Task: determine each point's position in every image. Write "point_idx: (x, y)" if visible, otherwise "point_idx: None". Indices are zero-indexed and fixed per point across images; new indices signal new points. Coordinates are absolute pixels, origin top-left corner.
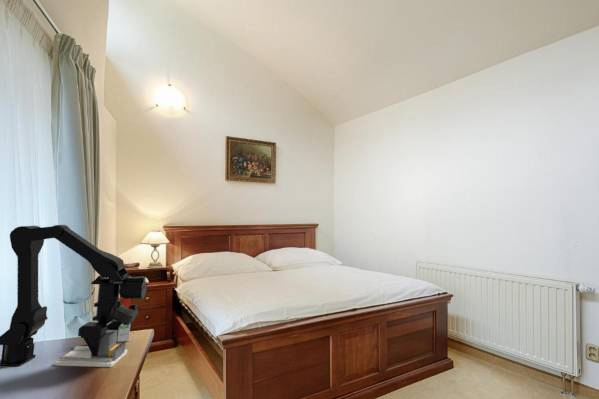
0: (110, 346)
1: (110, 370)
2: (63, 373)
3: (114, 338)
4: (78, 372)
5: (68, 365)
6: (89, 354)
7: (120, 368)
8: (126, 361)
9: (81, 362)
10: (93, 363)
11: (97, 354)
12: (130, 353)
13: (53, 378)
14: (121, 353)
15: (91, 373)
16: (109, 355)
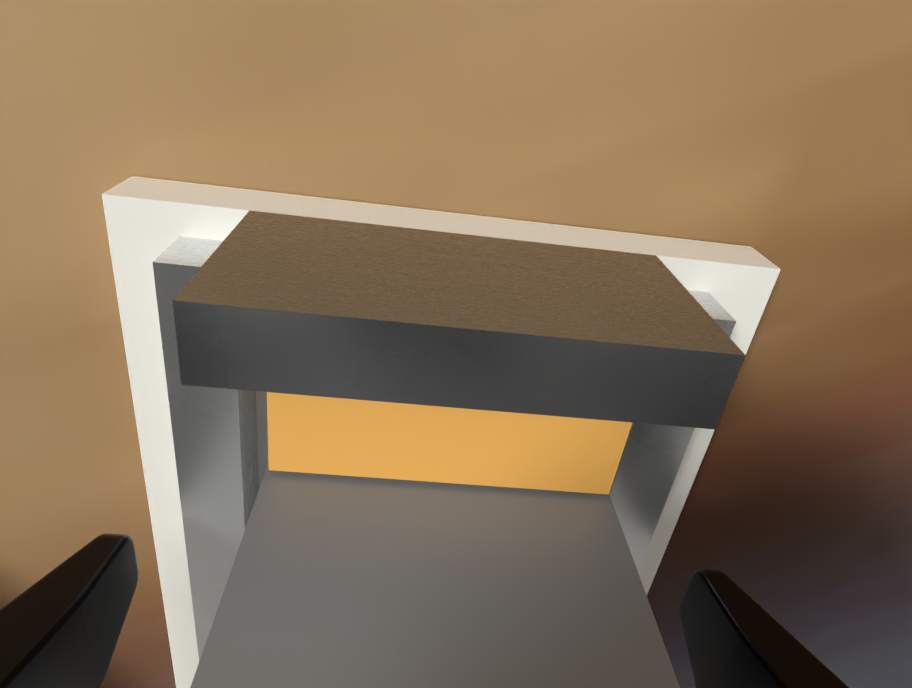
0: (545, 535)
1: (875, 214)
2: None
3: (354, 651)
4: (786, 554)
5: None
6: None
7: (856, 63)
8: (552, 48)
9: None
10: (677, 509)
11: (719, 586)
12: (151, 96)
13: (849, 675)
14: (397, 237)
15: (874, 425)
16: None
